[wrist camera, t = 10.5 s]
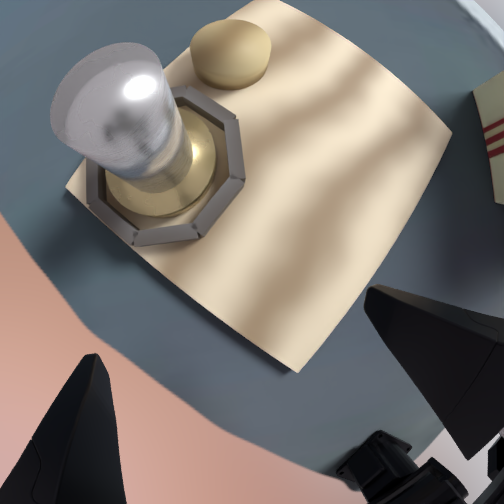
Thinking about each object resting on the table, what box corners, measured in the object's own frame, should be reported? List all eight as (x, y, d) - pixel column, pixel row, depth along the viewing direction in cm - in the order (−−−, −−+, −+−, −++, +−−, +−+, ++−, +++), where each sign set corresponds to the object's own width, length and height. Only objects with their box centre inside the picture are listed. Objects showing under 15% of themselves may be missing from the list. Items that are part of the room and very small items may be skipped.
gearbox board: (446, 135, 22) (468, 124, 18) (294, 368, 21) (305, 387, 17) (263, 0, 20) (267, -23, 17) (71, 189, 20) (48, 180, 16)
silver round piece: (229, 129, 19) (228, 27, 8) (199, 230, 19) (157, 208, 8) (136, 112, 19) (76, 24, 8) (103, 205, 19) (3, 171, 8)
